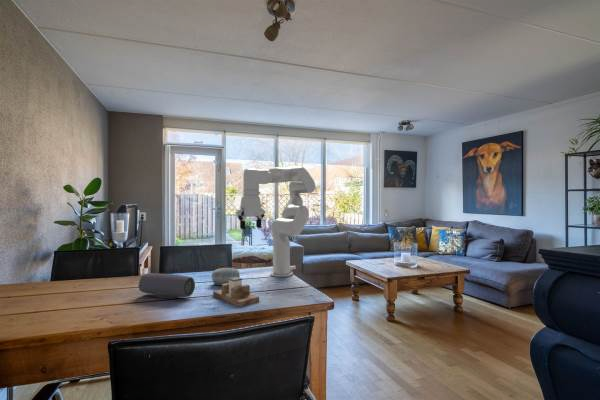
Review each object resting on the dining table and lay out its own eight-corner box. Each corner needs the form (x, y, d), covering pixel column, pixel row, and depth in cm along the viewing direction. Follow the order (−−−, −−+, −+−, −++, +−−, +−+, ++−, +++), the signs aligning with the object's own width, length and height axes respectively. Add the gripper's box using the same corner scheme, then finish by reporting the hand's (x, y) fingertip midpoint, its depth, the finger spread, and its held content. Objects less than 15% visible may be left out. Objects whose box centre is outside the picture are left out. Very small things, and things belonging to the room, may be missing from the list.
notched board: (232, 291, 147) (232, 278, 147) (259, 301, 133) (259, 287, 133) (213, 295, 140) (213, 282, 140) (239, 307, 126) (239, 292, 126)
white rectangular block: (236, 291, 140) (236, 276, 140) (242, 293, 137) (242, 278, 137) (228, 293, 137) (228, 278, 137) (233, 295, 134) (234, 280, 134)
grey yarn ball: (242, 274, 165) (236, 259, 161) (241, 287, 157) (235, 272, 152) (217, 280, 165) (210, 266, 161) (214, 293, 157) (207, 279, 152)
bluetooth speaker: (195, 296, 140) (195, 273, 140) (182, 302, 131) (182, 278, 131) (152, 291, 146) (152, 270, 146) (137, 297, 137) (137, 274, 137)
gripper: (260, 193, 166) (260, 226, 166) (231, 193, 153) (231, 228, 153) (269, 193, 160) (269, 227, 161) (240, 193, 148) (240, 230, 148)
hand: (251, 228), depth 157 cm, fingers open, 9 cm apart
